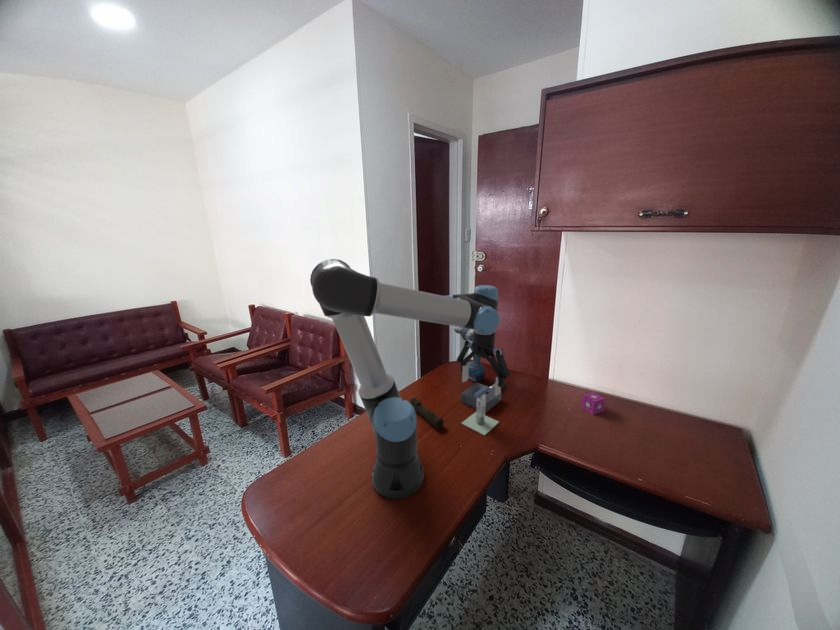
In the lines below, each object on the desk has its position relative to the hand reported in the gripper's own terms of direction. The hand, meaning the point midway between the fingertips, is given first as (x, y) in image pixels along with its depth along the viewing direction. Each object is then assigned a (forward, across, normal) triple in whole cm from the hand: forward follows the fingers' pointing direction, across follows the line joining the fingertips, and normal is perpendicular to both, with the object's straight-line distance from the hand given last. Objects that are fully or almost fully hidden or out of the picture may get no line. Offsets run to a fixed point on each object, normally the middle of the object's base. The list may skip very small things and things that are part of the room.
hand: (480, 387), depth 110 cm
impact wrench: (+15, +23, -29) cm, 40 cm away
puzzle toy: (+14, -28, -38) cm, 49 cm away
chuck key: (+15, 0, -1) cm, 15 cm away
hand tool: (+16, +18, +10) cm, 26 cm away
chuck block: (+15, +8, -18) cm, 24 cm away
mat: (+15, 0, -1) cm, 15 cm away
